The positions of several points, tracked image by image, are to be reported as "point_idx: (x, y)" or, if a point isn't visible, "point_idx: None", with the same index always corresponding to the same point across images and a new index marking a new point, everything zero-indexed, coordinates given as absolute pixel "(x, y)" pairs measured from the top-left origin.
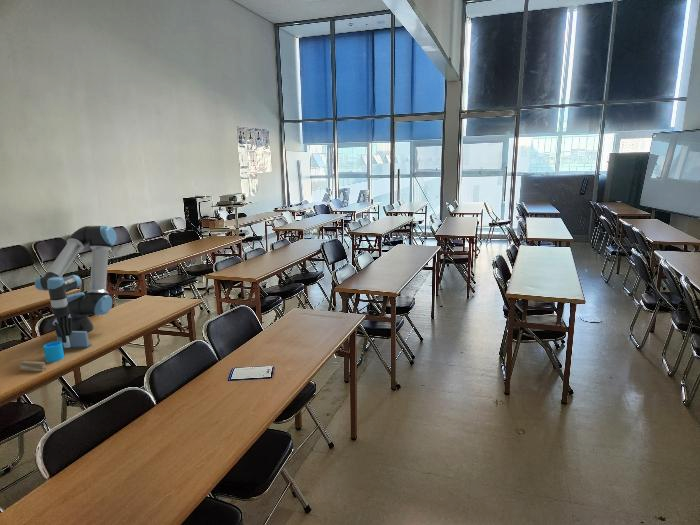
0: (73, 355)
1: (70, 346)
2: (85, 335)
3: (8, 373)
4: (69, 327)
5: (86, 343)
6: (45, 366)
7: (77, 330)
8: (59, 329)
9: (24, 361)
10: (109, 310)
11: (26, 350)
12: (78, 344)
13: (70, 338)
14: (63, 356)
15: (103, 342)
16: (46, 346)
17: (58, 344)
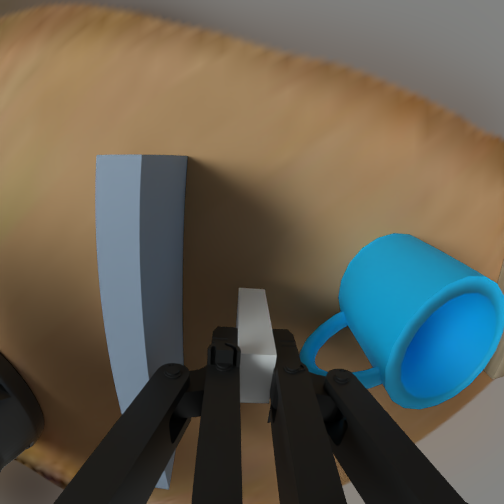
0: (349, 182)
1: (240, 288)
2: (154, 156)
3: (489, 378)
4: (162, 431)
5: (178, 160)
6: None
7: (5, 390)
8: (415, 455)
9: (500, 368)
10: None
11: (247, 486)
12: (177, 251)
13: (167, 349)
14: (391, 238)
15: (79, 96)
16: (433, 384)
17: (473, 289)
